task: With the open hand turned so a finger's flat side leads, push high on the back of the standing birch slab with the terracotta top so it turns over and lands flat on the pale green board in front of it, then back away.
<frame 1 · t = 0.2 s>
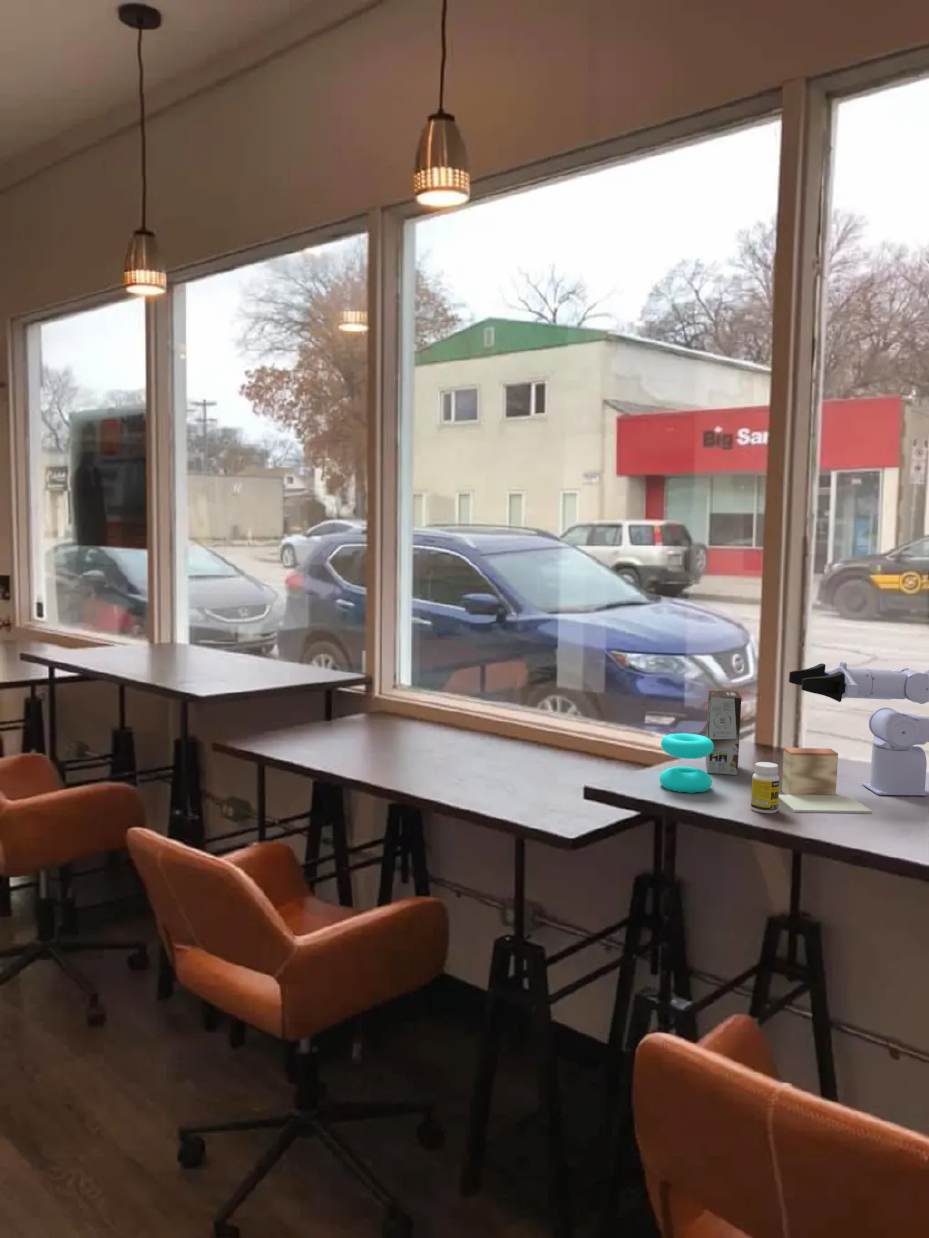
hand: (795, 680, 192), 21 cm above the table, tool horizontal, fingers open, 7 cm apart
green board: (822, 804, 183), on the table
coffee box: (721, 770, 209), on the table
supplement bottle: (764, 811, 179), on the table
donuts: (685, 788, 194), on the table
birch slab: (808, 793, 191), on the table
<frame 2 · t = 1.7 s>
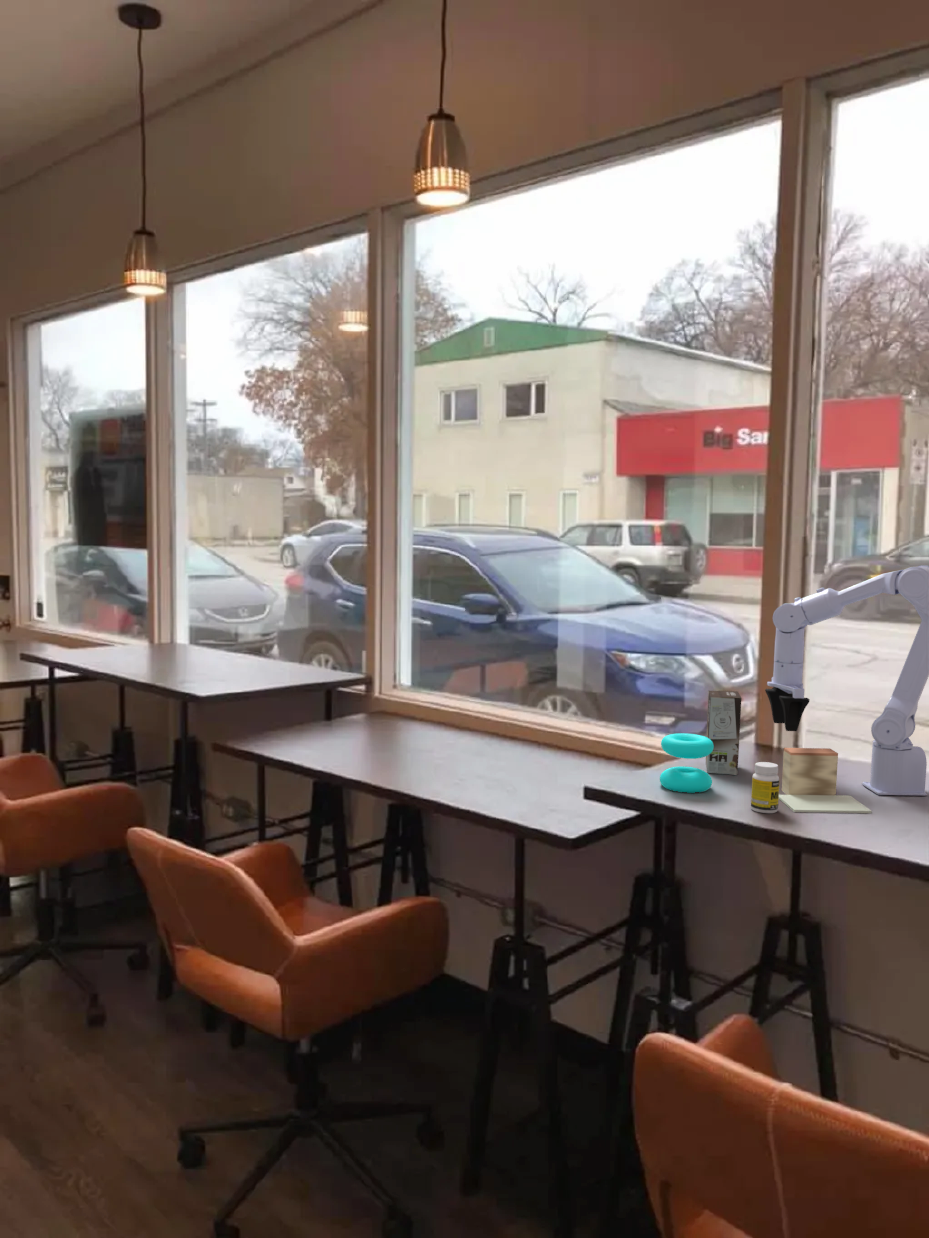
hand: (785, 726, 205), 10 cm above the table, tool pointing down, fingers open, 7 cm apart
nothing on the table moved.
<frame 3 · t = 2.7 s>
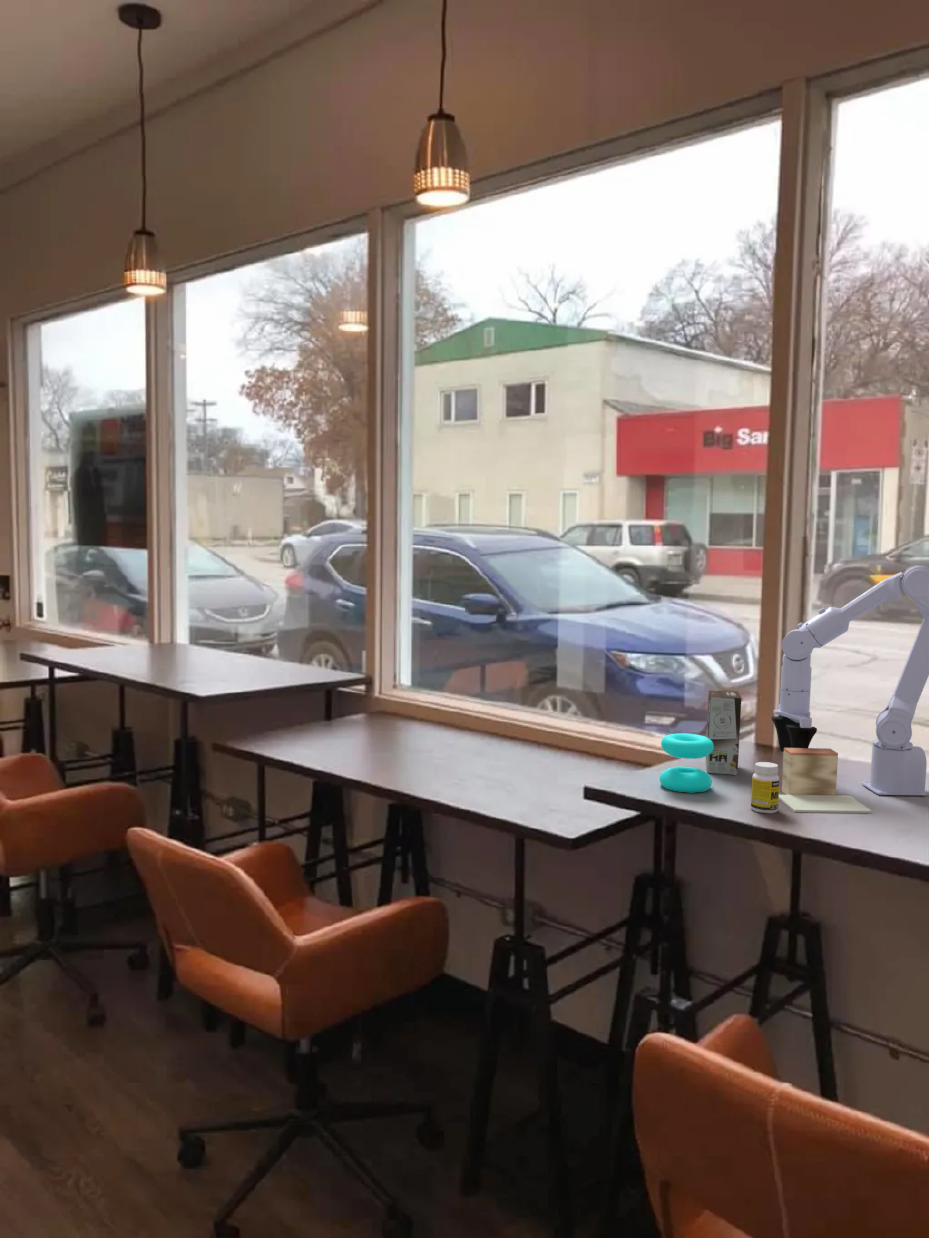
hand: (792, 755, 200), 5 cm above the table, tool pointing down, fingers open, 7 cm apart
nothing on the table moved.
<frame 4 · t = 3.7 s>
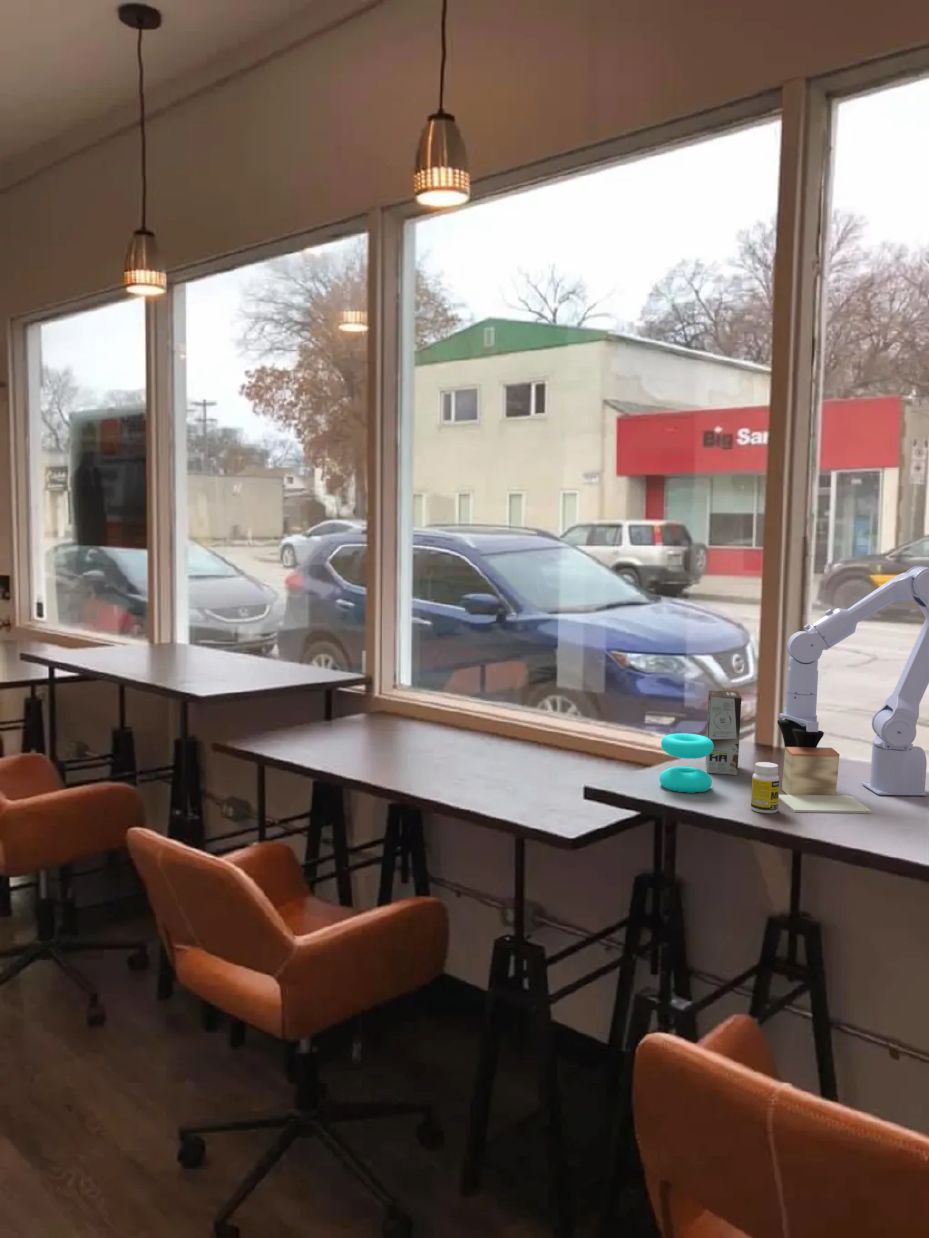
hand: (798, 760, 197), 5 cm above the table, tool pointing down, fingers open, 7 cm apart
birch slab: (808, 792, 191), on the table, tilted 5°, touching gripper
everything else where it was.
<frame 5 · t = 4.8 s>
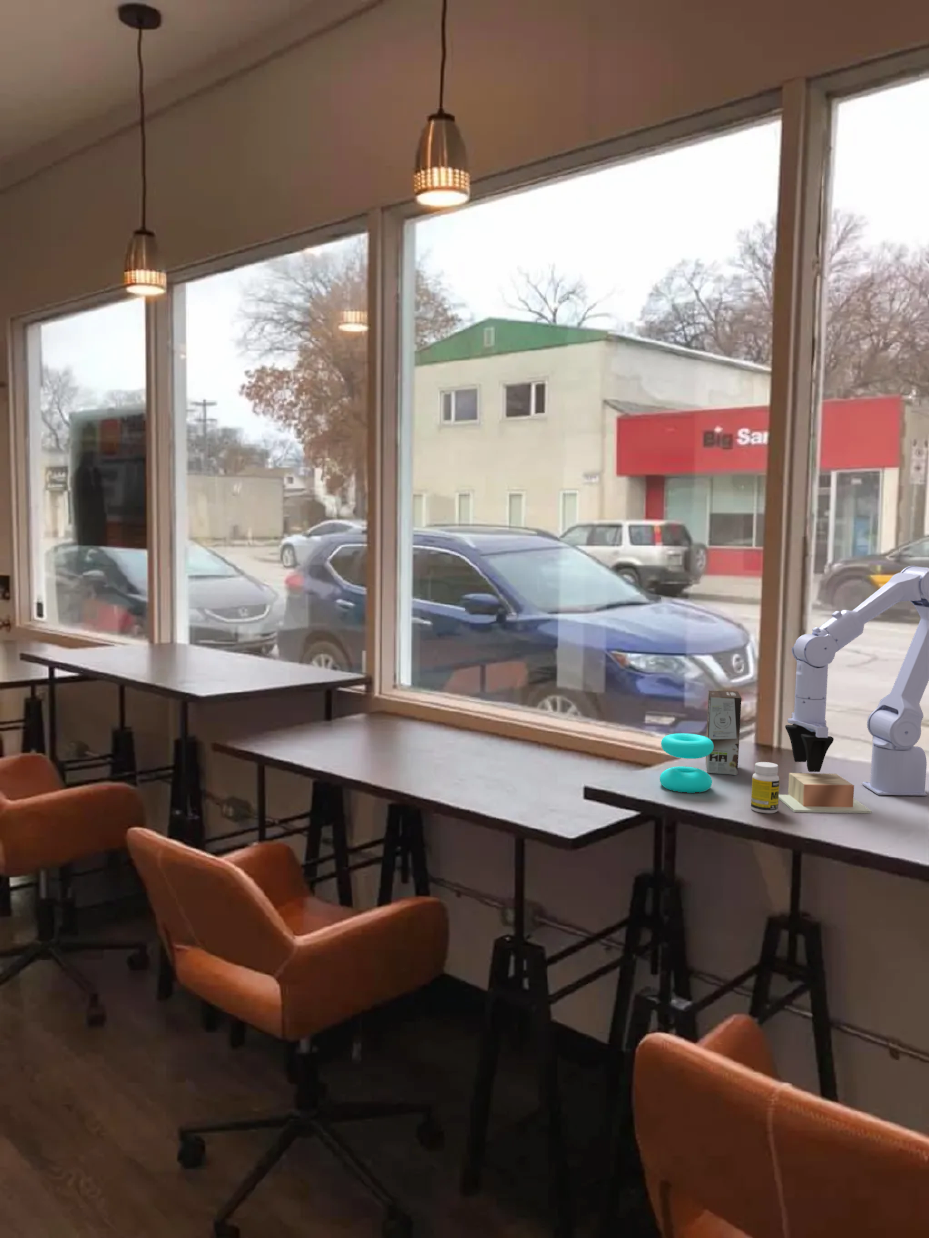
hand: (806, 766, 192), 5 cm above the table, tool pointing down, fingers open, 7 cm apart
birch slab: (812, 783, 189), point 2 cm above the table, tilted 90°, touching green board
everything else where it was.
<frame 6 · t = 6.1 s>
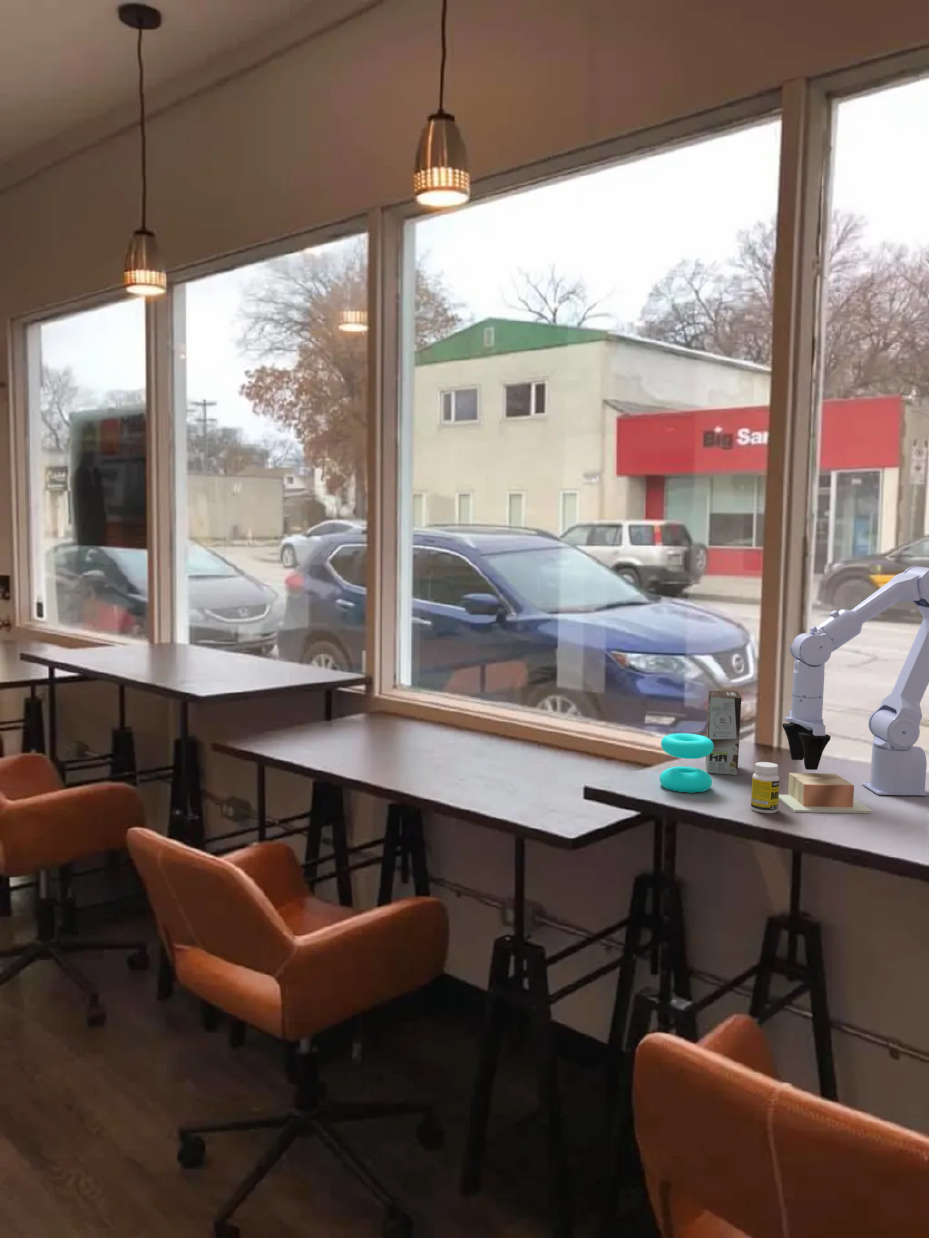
hand: (804, 764, 193), 5 cm above the table, tool pointing down, fingers open, 7 cm apart
nothing on the table moved.
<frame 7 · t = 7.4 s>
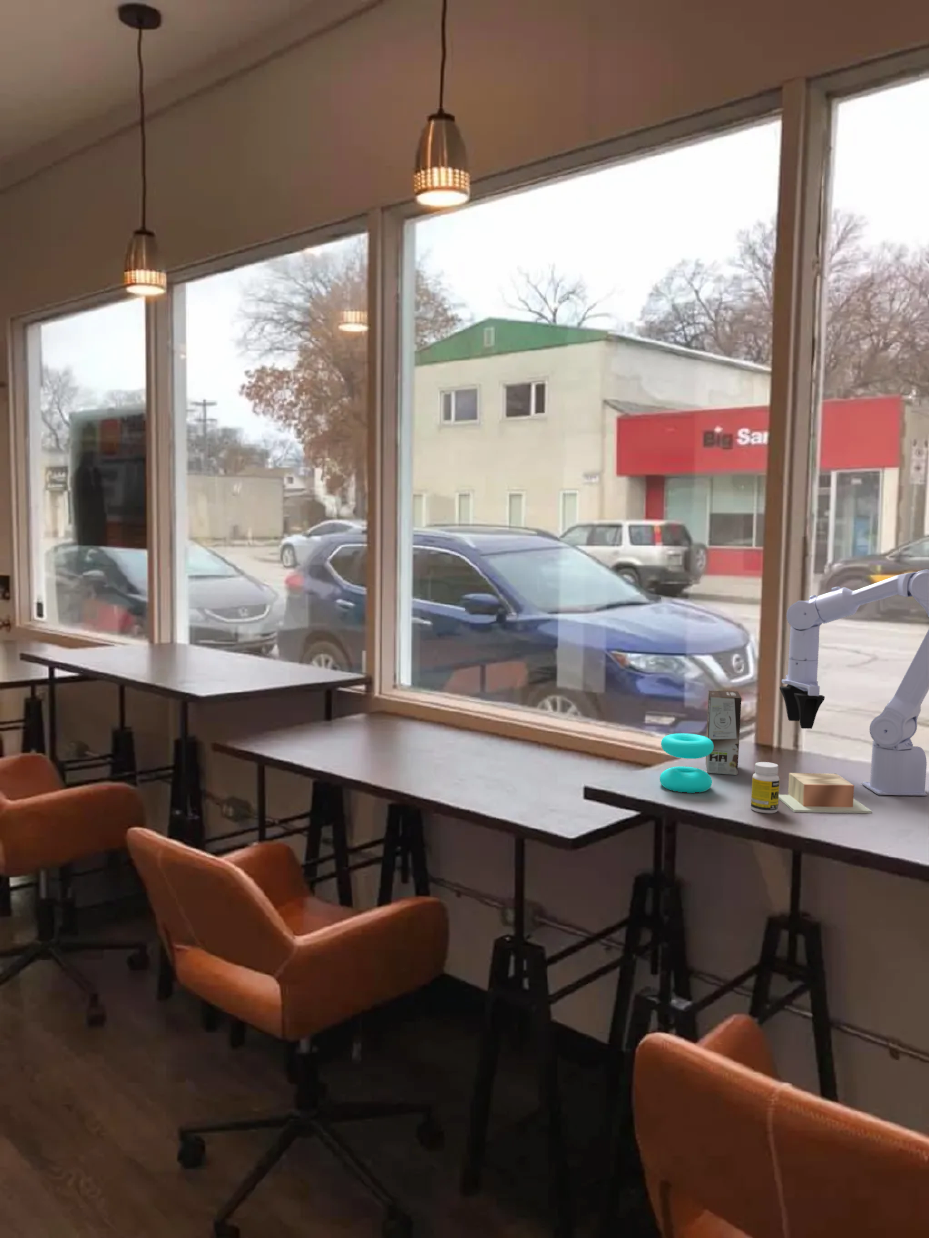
hand: (799, 724, 205), 10 cm above the table, tool pointing down, fingers open, 7 cm apart
nothing on the table moved.
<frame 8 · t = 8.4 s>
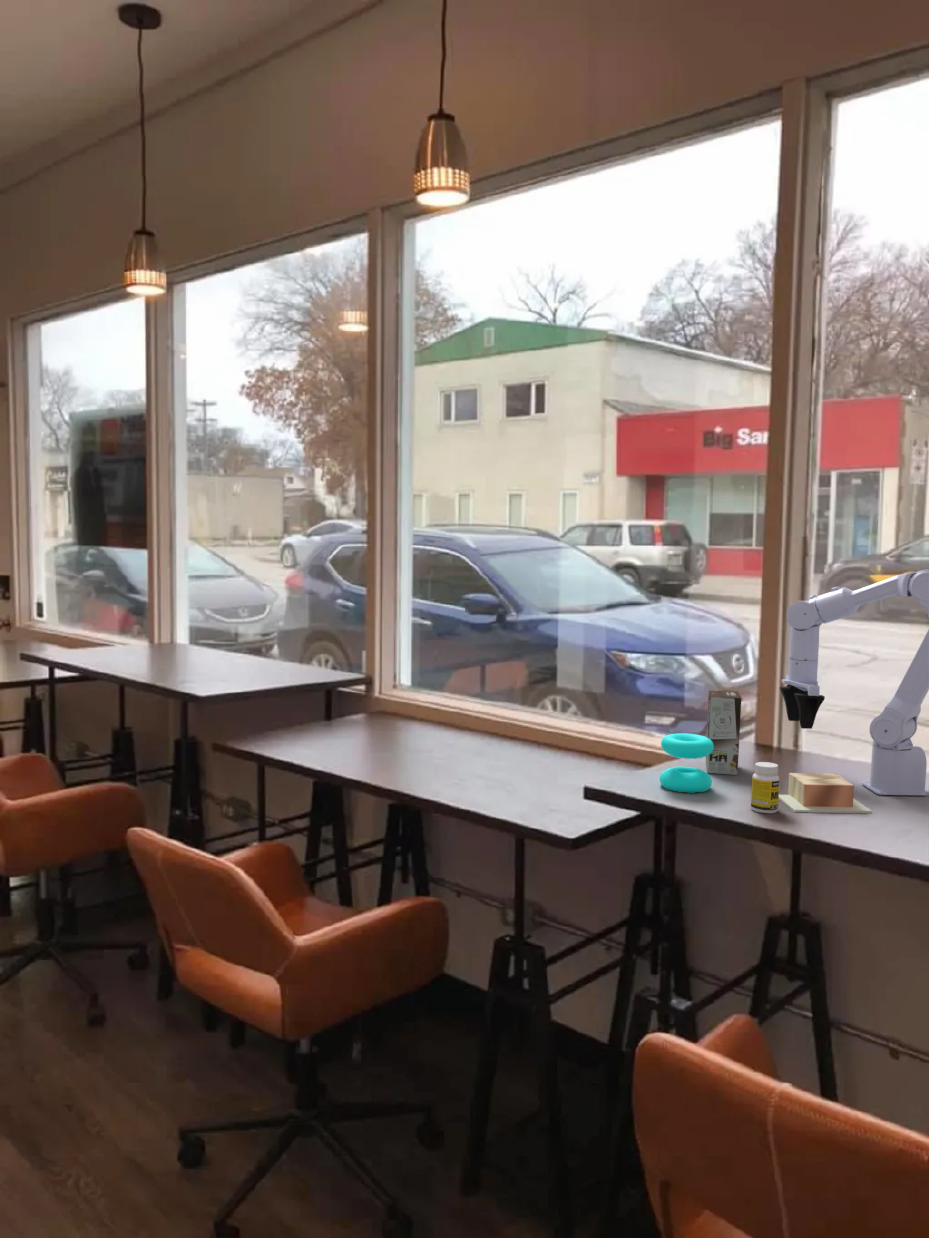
hand: (799, 724, 205), 10 cm above the table, tool pointing down, fingers open, 7 cm apart
nothing on the table moved.
at the end: birch slab tilted 90°; birch slab inside the target area (2.8 cm from its centre), point 2.4 cm above the table; birch slab touching green board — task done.
